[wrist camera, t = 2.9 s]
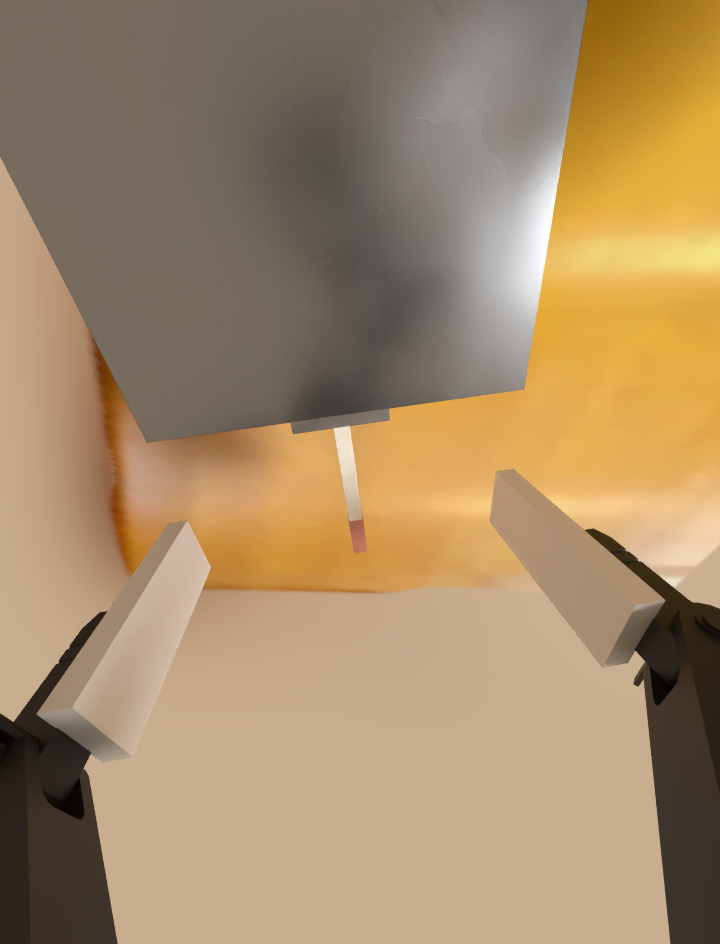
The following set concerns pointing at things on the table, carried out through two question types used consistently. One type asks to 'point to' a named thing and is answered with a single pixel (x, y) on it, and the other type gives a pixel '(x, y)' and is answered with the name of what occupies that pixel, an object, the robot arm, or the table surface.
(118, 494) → the table surface
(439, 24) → the dispenser
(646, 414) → the table surface
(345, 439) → the pink-tipped white stick
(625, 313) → the table surface
